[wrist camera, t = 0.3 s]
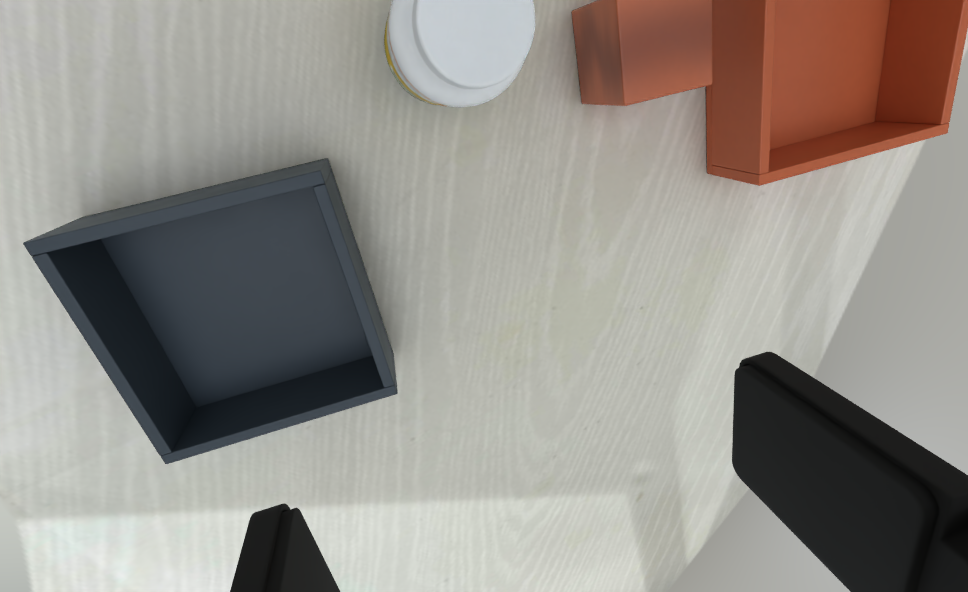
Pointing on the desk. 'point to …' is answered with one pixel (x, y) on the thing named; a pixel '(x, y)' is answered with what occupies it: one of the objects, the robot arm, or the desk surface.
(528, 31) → the supplement bottle
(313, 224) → the slate bin
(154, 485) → the desk surface
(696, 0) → the terracotta block
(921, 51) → the terracotta bin
